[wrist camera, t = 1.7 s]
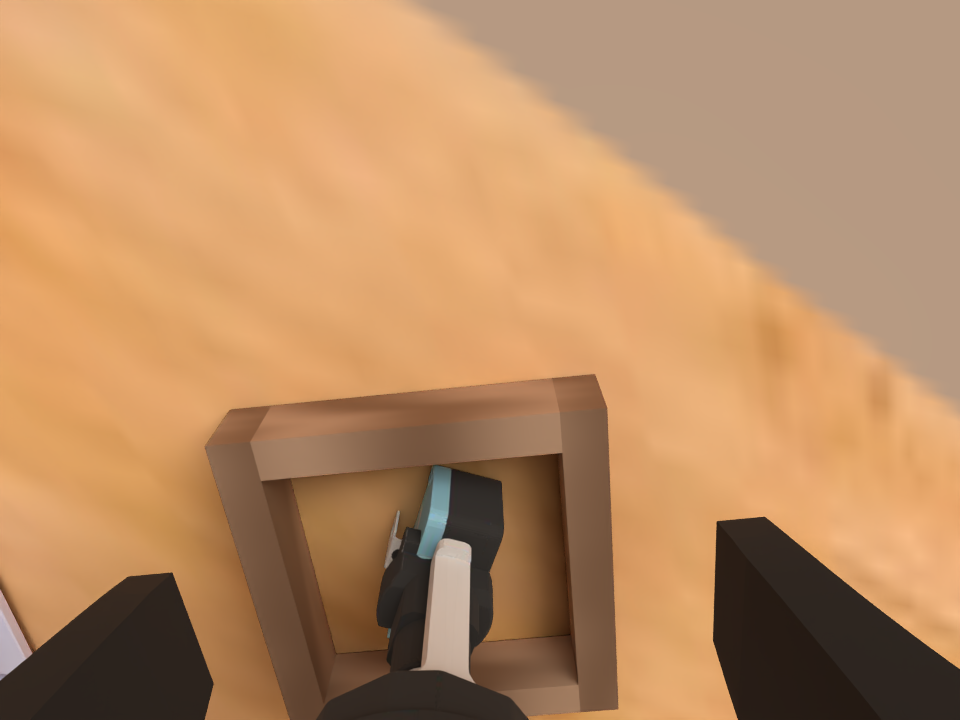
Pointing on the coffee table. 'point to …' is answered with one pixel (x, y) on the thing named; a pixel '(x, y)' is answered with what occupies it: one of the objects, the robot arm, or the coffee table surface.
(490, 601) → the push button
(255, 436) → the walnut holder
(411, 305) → the coffee table surface
